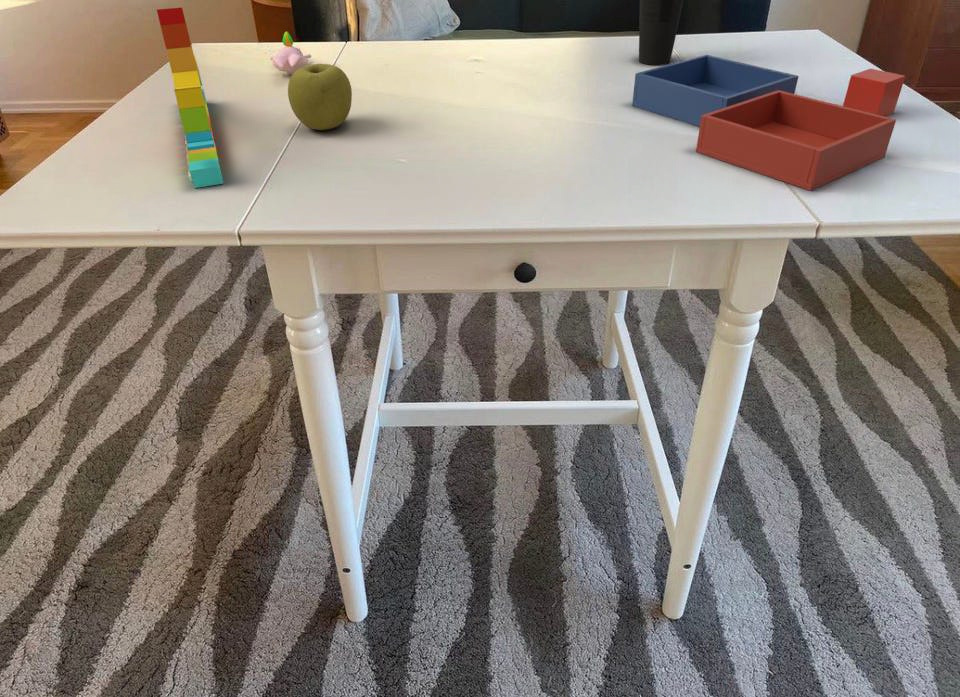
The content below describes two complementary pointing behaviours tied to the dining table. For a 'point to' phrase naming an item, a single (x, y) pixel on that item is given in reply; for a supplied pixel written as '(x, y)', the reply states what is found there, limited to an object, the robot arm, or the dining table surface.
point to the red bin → (795, 138)
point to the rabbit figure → (289, 57)
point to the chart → (190, 100)
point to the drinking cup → (658, 30)
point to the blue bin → (705, 86)
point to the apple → (320, 96)
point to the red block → (874, 91)
